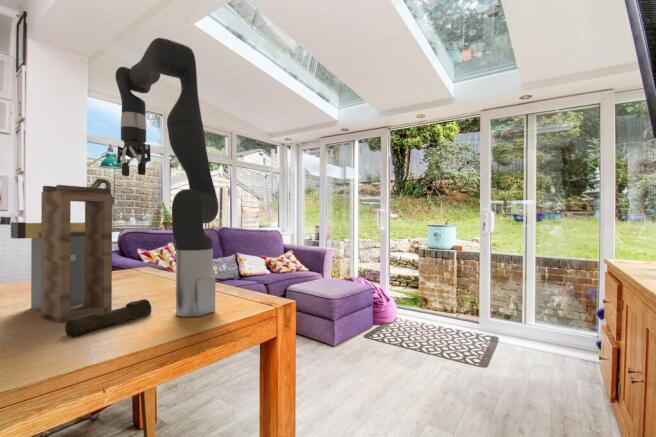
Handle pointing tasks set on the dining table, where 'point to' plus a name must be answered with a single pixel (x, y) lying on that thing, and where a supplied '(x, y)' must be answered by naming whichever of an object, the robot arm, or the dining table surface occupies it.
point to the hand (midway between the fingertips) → (133, 175)
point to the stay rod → (37, 229)
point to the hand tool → (108, 318)
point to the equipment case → (75, 270)
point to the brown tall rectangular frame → (58, 252)
